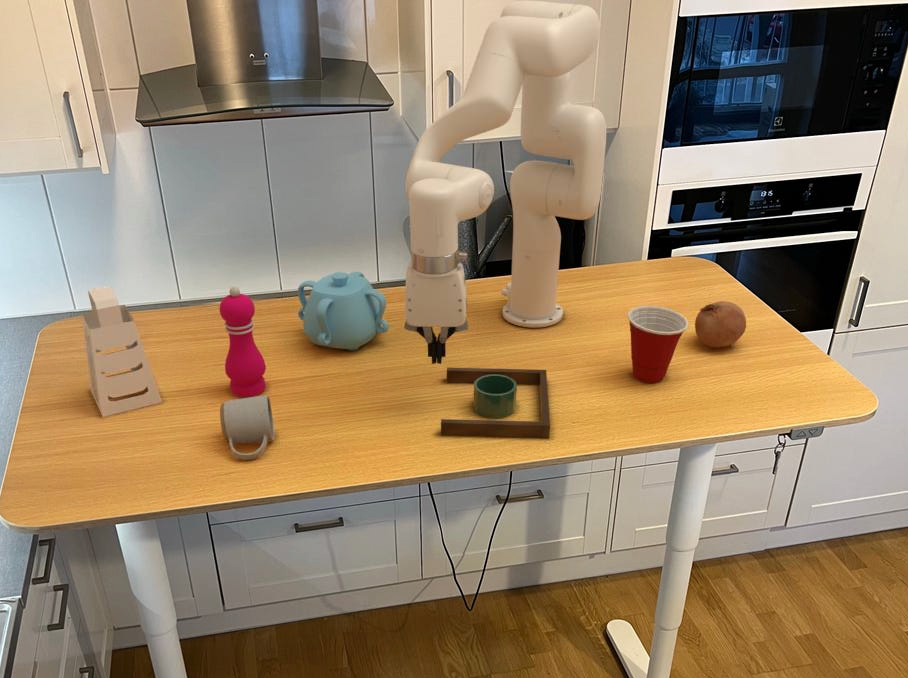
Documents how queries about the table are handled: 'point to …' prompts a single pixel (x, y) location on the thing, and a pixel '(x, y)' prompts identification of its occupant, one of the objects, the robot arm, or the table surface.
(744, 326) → the onion
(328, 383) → the table surface
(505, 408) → the green cup
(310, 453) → the table surface
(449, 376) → the walnut bay
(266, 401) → the ceramic mug
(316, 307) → the decorative pot
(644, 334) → the plastic cup
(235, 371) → the pepper mill
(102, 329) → the grater
